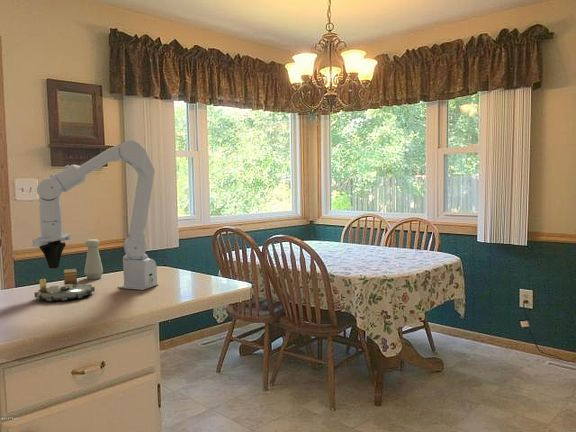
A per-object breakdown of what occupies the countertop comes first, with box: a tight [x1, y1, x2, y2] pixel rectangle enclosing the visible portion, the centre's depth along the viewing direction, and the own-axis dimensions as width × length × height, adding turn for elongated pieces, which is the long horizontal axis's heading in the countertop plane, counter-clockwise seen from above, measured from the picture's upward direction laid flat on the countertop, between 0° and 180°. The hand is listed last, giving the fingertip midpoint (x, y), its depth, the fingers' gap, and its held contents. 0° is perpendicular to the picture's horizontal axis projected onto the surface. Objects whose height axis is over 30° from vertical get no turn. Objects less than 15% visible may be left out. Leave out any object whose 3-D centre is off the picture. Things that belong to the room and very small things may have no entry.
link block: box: [63, 268, 78, 285], centre depth 152 cm, size 5×4×5 cm
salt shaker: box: [83, 238, 104, 280], centre depth 163 cm, size 6×6×13 cm
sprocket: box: [34, 278, 96, 302], centre depth 138 cm, size 15×15×5 cm
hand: (53, 267), depth 142 cm, fingers closed
